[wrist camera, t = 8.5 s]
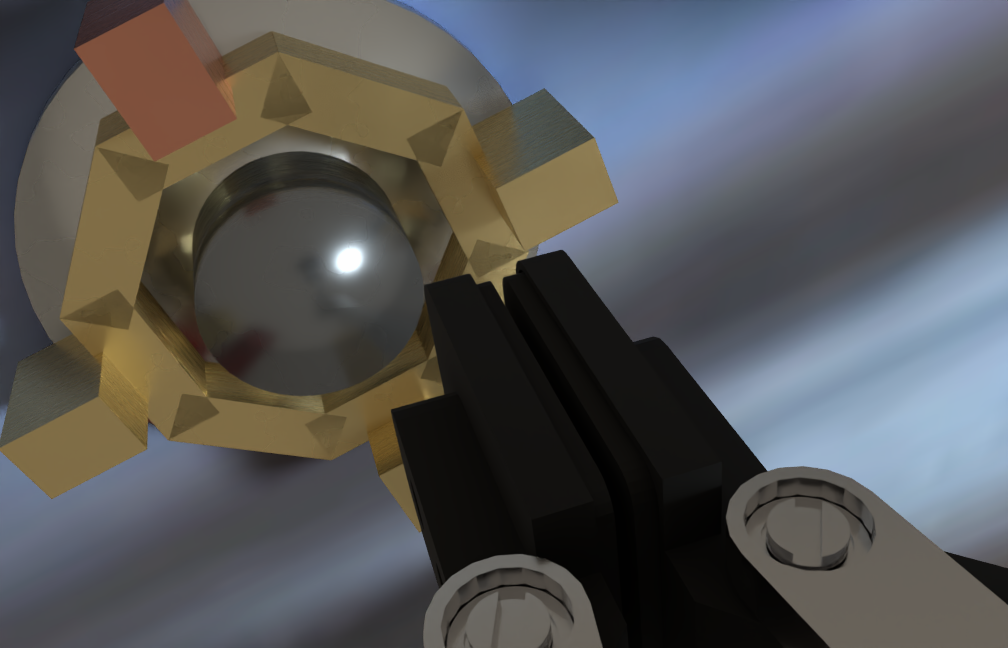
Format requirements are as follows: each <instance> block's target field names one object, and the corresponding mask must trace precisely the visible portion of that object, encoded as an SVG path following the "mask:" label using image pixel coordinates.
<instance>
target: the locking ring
mask: <svg viewBox="0 0 1008 648" xmlns="http://www.w3.org/2000/svg"><path fill="white" fill-rule="evenodd" d="M74 50H75V51H76V53H77V54H78V56H79V57H80V58H81V60H82V61H83V63H84V64H85V65H86V67H87V68H88V70H89V71H90V72H91V74H92V75H93V77H94V78H95V79H96V81H97V82H98V84H99V85H100V86H101V88H102V89H103V91H104V92H105V93H106V95H107V96H108V98H109V99H110V100H111V102H112V103H113V105H114V106H115V107H116V109H117V111H115V112H113V113H111V114H109V115H107V116H105V117H103V118H101V119H100V122H99V127H98V132H97V136H96V141H95V146H94V151H93V156H92V160H91V165H90V170H89V175H88V180H87V184H86V189H85V194H84V199H83V204H82V208H81V213H80V218H79V223H78V228H77V232H76V237H75V242H74V247H73V252H72V256H71V261H70V266H69V271H68V276H67V280H66V286H65V291H64V297H63V302H62V308H61V313H60V320H61V321H62V322H63V323H64V325H65V326H66V327H67V328H68V329H69V330H70V331H71V332H72V333H73V334H71V335H69V336H67V337H66V338H64V339H62V340H60V341H58V342H56V343H54V344H52V345H50V346H48V347H46V348H44V349H42V350H41V351H39V352H37V353H35V354H33V355H31V356H29V357H27V358H25V359H23V360H21V361H19V362H18V365H17V370H16V374H15V378H14V383H13V387H12V391H11V395H10V400H9V404H8V408H7V413H6V417H5V421H4V425H3V430H2V434H1V438H0V451H1V452H2V453H3V454H4V455H5V456H6V457H7V458H8V459H9V460H10V461H11V462H12V463H14V464H15V465H16V466H17V467H18V468H19V469H20V470H21V471H22V472H23V473H24V474H25V475H26V476H27V477H29V478H30V479H31V480H32V481H33V482H34V483H35V484H36V485H37V486H38V487H39V488H40V489H41V490H42V491H44V492H45V493H46V494H47V495H48V496H49V497H50V498H51V499H53V498H55V497H57V496H59V495H60V494H62V493H64V492H66V491H68V490H70V489H72V488H74V487H76V486H78V485H80V484H81V483H83V482H85V481H87V480H89V479H91V478H93V477H95V476H97V475H99V474H101V473H102V472H104V471H106V470H108V469H110V468H112V467H114V466H116V465H118V464H120V463H122V462H124V461H125V460H127V459H129V458H131V457H133V456H135V455H137V454H139V453H141V452H143V451H145V450H146V449H147V433H148V418H149V419H150V421H151V422H152V423H153V424H154V425H155V426H156V427H157V428H158V429H159V431H160V432H161V433H162V434H163V435H164V436H165V437H166V438H167V440H169V441H177V442H185V443H194V444H202V445H210V446H218V447H227V448H235V449H243V450H251V451H260V452H268V453H276V454H284V455H293V456H301V457H309V458H317V459H326V460H332V459H334V458H336V457H338V456H340V455H342V454H344V453H346V452H348V451H350V450H351V449H353V448H355V447H357V446H359V445H361V444H363V443H365V442H367V441H369V442H370V445H371V449H372V452H373V456H374V460H375V463H376V467H377V470H378V474H379V477H380V478H381V480H382V481H383V482H384V484H385V485H386V487H387V488H388V489H389V491H390V492H391V494H392V495H393V496H394V498H395V499H396V501H397V502H398V503H399V505H400V506H401V508H402V509H403V510H404V512H405V513H406V515H407V516H408V517H409V519H410V520H411V522H412V523H413V524H414V526H415V527H416V529H417V530H418V531H419V532H421V531H422V530H421V527H420V524H419V520H418V517H417V513H416V510H415V506H414V503H413V499H412V495H411V492H410V488H409V484H408V481H407V477H406V473H405V469H404V465H403V461H402V457H401V453H400V449H399V445H398V441H397V437H396V432H395V428H394V424H393V420H392V415H391V409H394V408H398V407H401V406H405V405H408V404H412V403H416V402H419V401H423V400H426V399H430V398H434V397H437V396H441V395H444V390H443V385H442V380H441V375H440V370H439V365H438V360H437V355H436V350H435V345H434V340H433V335H432V330H431V325H430V320H429V315H428V310H427V305H426V301H425V303H424V306H423V308H422V311H421V315H420V318H419V321H418V324H417V326H416V328H415V330H414V332H413V334H412V336H411V338H410V340H409V341H408V343H407V344H406V346H405V347H404V348H403V350H402V351H401V352H400V353H399V354H398V355H397V356H396V358H395V359H394V360H392V361H391V362H390V363H389V364H388V365H387V366H386V367H385V368H383V369H382V370H380V371H379V372H378V373H376V374H375V375H373V376H372V377H370V378H368V379H366V380H365V381H363V382H361V383H358V384H356V385H354V386H351V387H349V388H346V389H343V390H340V391H336V392H332V393H327V394H322V395H312V396H292V395H283V394H277V393H273V392H268V391H265V390H262V389H259V388H256V387H253V386H251V385H249V384H247V383H245V382H243V381H241V380H240V379H238V378H237V377H235V376H234V375H232V374H231V373H229V372H228V371H227V370H226V369H225V368H224V367H223V366H221V365H220V364H219V363H214V362H208V361H204V359H203V358H202V357H201V356H200V354H199V353H198V352H197V351H196V349H195V348H194V347H193V346H192V344H191V343H190V342H189V341H188V339H187V338H186V337H185V336H184V334H183V333H182V332H181V331H180V329H179V328H178V327H177V326H176V324H175V323H174V322H173V321H172V319H171V318H170V317H169V316H168V314H167V313H166V312H165V311H164V309H163V308H162V307H161V305H160V304H159V303H158V302H157V300H156V299H155V298H154V297H153V295H152V294H151V293H150V292H149V290H148V289H147V288H146V287H145V285H144V284H143V283H142V282H141V276H142V272H143V268H144V264H145V260H146V256H147V252H148V248H149V244H150V240H151V236H152V232H153V228H154V223H155V219H156V215H157V211H158V207H159V203H160V199H161V195H162V191H163V189H165V188H167V187H169V186H171V185H173V184H175V183H177V182H178V181H180V180H182V179H184V178H186V177H188V176H190V175H192V174H194V173H196V172H198V171H200V170H202V169H204V168H205V167H207V166H209V165H211V164H213V163H215V162H217V161H219V160H221V159H223V158H225V157H227V156H229V155H231V154H232V153H234V152H236V151H238V150H240V149H242V148H244V147H246V146H248V145H250V144H252V143H254V142H256V141H258V140H259V139H261V138H263V137H265V136H267V135H269V134H271V133H273V132H275V131H277V130H279V129H281V128H283V127H285V126H286V125H290V126H294V127H297V128H301V129H304V130H308V131H312V132H315V133H319V134H323V135H326V136H330V137H334V138H337V139H341V140H344V141H348V142H352V143H355V144H359V145H363V146H366V147H370V148H374V149H377V150H381V151H385V152H388V153H392V154H395V155H399V156H403V157H406V158H410V159H414V160H416V161H417V163H418V165H419V167H420V169H421V171H422V173H423V175H424V177H425V178H426V180H427V182H428V184H429V186H430V188H431V190H432V192H433V194H434V196H435V198H436V200H437V202H438V204H439V206H440V208H441V210H442V212H443V214H444V216H445V217H446V219H447V221H448V223H449V225H450V227H451V229H452V231H453V232H452V235H451V237H450V240H449V242H448V245H447V247H446V250H445V252H444V255H443V257H442V260H441V263H440V265H439V268H438V270H437V273H436V275H435V278H434V280H433V282H437V281H441V280H445V279H449V278H453V277H457V276H461V275H465V274H471V276H472V277H473V279H474V281H475V282H476V284H479V283H483V282H487V281H491V282H492V283H493V285H494V287H495V289H496V290H497V292H498V294H499V296H500V297H501V299H502V301H503V303H504V304H505V301H504V294H503V286H502V280H503V277H506V276H510V275H514V274H516V263H517V261H519V260H523V259H526V258H527V255H528V253H529V249H531V248H533V247H534V246H536V245H538V244H540V243H542V242H544V241H546V240H548V239H550V238H552V237H554V236H555V235H557V234H559V233H561V232H563V231H565V230H567V229H569V228H571V227H573V226H575V225H577V224H578V223H580V222H582V221H584V220H586V219H588V218H590V217H592V216H594V215H596V214H598V213H599V212H601V211H603V210H605V209H607V208H609V207H611V206H613V205H615V204H617V203H618V200H617V197H616V194H615V192H614V189H613V186H612V184H611V181H610V178H609V176H608V173H607V170H606V167H605V165H604V162H603V159H602V157H601V154H600V151H599V149H598V146H597V143H596V140H595V138H594V137H593V136H592V135H591V134H590V133H589V132H588V131H587V130H586V129H585V128H584V127H583V126H582V125H581V124H580V123H579V122H578V121H577V120H576V119H575V118H574V117H573V116H572V115H571V114H570V113H569V112H568V111H567V110H566V109H565V108H564V107H563V106H562V105H561V104H560V103H559V102H558V101H557V100H556V99H555V98H554V97H553V96H552V95H551V94H550V93H549V92H548V91H547V90H546V89H545V88H544V89H542V90H540V91H538V92H536V93H534V94H533V95H531V96H529V97H527V98H525V99H523V100H521V101H519V102H517V103H515V104H513V105H511V106H509V107H508V108H506V109H504V110H502V111H500V112H498V113H496V114H494V115H492V116H490V117H488V118H486V119H485V120H483V121H481V122H479V123H477V124H475V125H473V126H471V124H470V122H469V119H468V117H467V115H466V113H465V111H464V109H463V107H462V106H461V105H460V103H459V102H458V101H457V99H456V98H455V97H454V95H453V94H452V93H451V91H450V90H449V89H448V87H447V86H445V85H442V84H438V83H435V82H432V81H429V80H426V79H423V78H419V77H416V76H413V75H410V74H407V73H404V72H400V71H397V70H394V69H391V68H388V67H385V66H381V65H378V64H375V63H372V62H369V61H366V60H362V59H359V58H356V57H353V56H350V55H347V54H343V53H340V52H337V51H334V50H331V49H328V48H324V47H321V46H318V45H315V44H312V43H309V42H305V41H302V40H299V39H296V38H293V37H290V36H286V35H283V34H280V33H277V32H274V31H272V32H271V31H270V32H268V33H266V34H264V35H262V36H260V37H258V38H256V39H254V40H252V41H250V42H249V43H247V44H245V45H243V46H241V47H239V48H237V49H235V50H233V51H231V52H229V53H227V54H225V55H223V56H221V54H220V52H219V51H218V49H217V47H216V46H215V44H214V42H213V41H212V39H211V38H210V36H209V34H208V33H207V31H206V29H205V28H204V26H203V25H202V23H201V21H200V20H199V18H198V16H197V15H196V13H195V11H194V10H193V8H192V7H191V5H190V3H189V2H188V0H91V1H89V2H87V5H86V9H85V12H84V16H83V19H82V23H81V26H80V29H79V33H78V36H77V40H76V43H75V47H74Z"/></svg>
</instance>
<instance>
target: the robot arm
mask: <svg viewBox="0 0 1008 648" xmlns="http://www.w3.org/2000/svg"><path fill="white" fill-rule="evenodd" d="M502 286H503V294H504V301H505V304H504V303H503V301H502V299H501V297H500V296H499V294H498V292H497V290H496V289H495V287H494V285H493V283H492V282H491V281H487V282H483V283H479V284H476V282H475V281H474V279H473V277H472V276H471V274H465V275H461V276H457V277H453V278H449V279H445V280H441V281H437V282H433V283H429V284H426V285H424V294H425V300H426V305H427V310H428V315H429V320H430V325H431V330H432V335H433V340H434V345H435V350H436V355H437V360H438V365H439V370H440V375H441V380H442V385H443V390H444V395H441V396H437V397H434V398H430V399H426V400H423V401H419V402H416V403H412V404H408V405H405V406H401V407H398V408H394V409H391V415H392V420H393V424H394V428H395V432H396V437H397V441H398V445H399V449H400V453H401V457H402V461H403V465H404V469H405V473H406V477H407V481H408V484H409V488H410V492H411V495H412V499H413V503H414V506H415V510H416V513H417V517H418V520H419V524H420V527H421V530H422V534H423V537H424V540H425V544H426V547H427V550H428V553H429V557H430V560H431V563H432V567H433V570H434V573H435V576H436V580H437V583H438V586H439V590H438V591H437V592H436V593H435V595H434V597H433V599H432V601H431V603H430V605H429V607H428V609H427V611H426V613H425V621H424V631H423V642H424V648H1008V568H1004V567H1001V566H997V565H993V564H989V563H986V562H982V561H978V560H974V559H971V558H967V557H963V556H959V555H956V554H952V553H948V552H945V551H943V550H941V549H940V548H939V547H938V546H937V545H935V544H934V543H933V542H932V541H931V540H929V539H928V538H927V537H926V536H925V535H923V534H922V533H921V532H920V531H919V530H917V529H916V528H915V527H914V526H913V525H911V524H910V523H909V522H908V521H907V520H905V519H904V518H903V517H902V516H901V515H899V514H898V513H897V512H896V511H895V510H893V509H892V508H891V507H890V506H889V505H887V504H886V503H885V502H884V501H883V500H881V499H880V498H879V497H878V496H877V495H875V494H874V493H873V492H872V491H870V490H869V489H867V488H866V487H864V486H863V485H861V484H859V483H858V482H856V481H855V480H853V479H852V478H849V477H846V476H843V475H841V474H838V473H835V472H832V471H830V470H825V469H818V468H811V467H804V466H801V467H785V468H777V469H774V470H771V471H767V470H766V469H765V468H764V466H763V465H762V464H761V463H760V461H759V460H758V459H757V458H756V456H755V455H754V454H753V453H752V451H751V450H750V449H749V447H748V446H747V445H746V444H745V442H744V441H743V440H742V439H741V437H740V436H739V435H738V434H737V432H736V431H735V430H734V429H733V427H732V426H731V425H730V424H729V422H728V421H727V420H726V419H725V417H724V416H723V415H722V414H721V412H720V411H719V410H718V409H717V407H716V406H715V405H714V404H713V402H712V401H711V400H710V399H709V397H708V396H707V395H706V394H705V392H704V391H703V390H702V389H701V387H700V386H699V385H698V384H697V382H696V381H695V380H694V379H693V377H692V376H691V375H690V374H689V372H688V371H687V370H686V369H685V367H684V366H683V365H682V364H681V362H680V361H679V360H678V359H677V357H676V356H675V355H674V354H673V352H672V351H671V350H670V349H669V347H668V346H667V345H666V344H665V343H664V342H663V341H662V340H661V339H660V338H657V337H650V338H646V339H643V340H639V341H636V342H632V340H631V339H630V338H629V336H628V335H627V334H626V332H625V331H624V330H623V328H622V327H621V326H620V324H619V323H618V322H617V320H616V319H615V318H614V316H613V315H612V314H611V312H610V311H609V310H608V308H607V307H606V306H605V304H604V303H603V302H602V300H601V299H600V298H599V296H598V295H597V294H596V292H595V291H594V290H593V288H592V287H591V286H590V284H589V283H588V282H587V280H586V279H585V278H584V276H583V275H582V273H581V272H580V271H579V269H578V268H577V267H576V265H575V264H574V263H573V261H572V260H571V259H570V257H569V256H568V255H567V253H565V252H564V251H563V250H558V251H555V252H551V253H547V254H543V255H539V256H535V257H531V258H527V259H523V260H519V261H517V263H516V274H514V275H510V276H506V277H503V280H502Z"/></svg>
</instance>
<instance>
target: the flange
mask: <svg viewBox="0 0 1008 648" xmlns="http://www.w3.org/2000/svg"><path fill="white" fill-rule="evenodd" d="M188 2H189V3H190V5H191V7H192V8H193V10H194V11H195V13H196V15H197V16H198V18H199V20H200V21H201V23H202V25H203V26H204V28H205V29H206V31H207V33H208V34H209V36H210V38H211V39H212V41H213V42H214V44H215V46H216V47H217V49H218V51H219V52H220V54H221V56H223V55H225V54H227V53H229V52H231V51H233V50H235V49H237V48H239V47H241V46H243V45H245V44H247V43H249V42H250V41H252V40H254V39H256V38H258V37H260V36H262V35H264V34H266V33H268V32H270V31H271V32H272V31H274V32H277V33H280V34H283V35H286V36H290V37H293V38H296V39H299V40H302V41H305V42H309V43H312V44H315V45H318V46H321V47H324V48H328V49H331V50H334V51H337V52H340V53H343V54H347V55H350V56H353V57H356V58H359V59H362V60H366V61H369V62H372V63H375V64H378V65H381V66H385V67H388V68H391V69H394V70H397V71H400V72H404V73H407V74H410V75H413V76H416V77H419V78H423V79H426V80H429V81H432V82H435V83H438V84H442V85H445V86H447V87H448V89H449V90H450V91H451V93H452V94H453V95H454V97H455V98H456V99H457V101H458V102H459V103H460V105H461V106H462V107H463V109H464V111H465V113H466V115H467V117H468V119H469V122H470V124H471V126H473V125H475V124H477V123H479V122H481V121H483V120H485V119H486V118H488V117H490V116H492V115H494V114H496V113H498V112H500V111H502V110H504V109H506V108H508V107H509V106H511V105H512V103H511V102H510V100H509V99H508V97H507V96H506V94H505V93H504V91H503V90H502V88H501V87H500V85H499V84H498V82H497V81H496V80H495V79H494V77H493V76H492V75H491V74H490V73H489V72H488V71H487V70H486V69H485V67H484V66H483V65H482V64H481V63H480V62H479V61H478V60H477V58H476V57H475V56H474V55H473V54H472V53H471V52H470V51H469V50H468V48H467V47H466V46H464V45H463V44H462V43H461V42H460V41H458V40H457V39H456V38H455V37H454V36H453V35H451V34H450V33H449V32H448V31H447V30H445V29H444V28H443V27H442V26H441V25H439V24H438V23H436V22H434V21H433V20H431V19H430V18H428V17H427V16H425V15H423V14H422V13H420V12H419V11H417V10H415V9H414V8H412V7H410V6H408V5H406V4H404V3H402V2H399V1H397V0H188ZM115 111H117V109H116V107H115V106H114V105H113V103H112V102H111V100H110V99H109V98H108V96H107V95H106V93H105V92H104V91H103V89H102V88H101V86H100V85H99V84H98V82H97V81H96V79H95V78H94V77H93V75H92V74H91V72H90V71H89V70H88V68H87V67H86V65H85V64H84V63H83V61H82V60H81V58H80V59H79V60H78V61H77V62H76V64H75V65H74V66H73V67H72V68H71V69H70V70H69V71H68V72H67V74H66V75H65V76H64V78H63V79H62V81H61V82H60V84H59V85H58V87H57V88H56V90H55V91H54V92H53V94H52V95H51V97H50V98H49V100H48V101H47V103H46V105H45V107H44V109H43V112H42V114H41V116H40V118H39V120H38V122H37V124H36V126H35V128H34V130H33V133H32V135H31V138H30V141H29V144H28V148H27V151H26V154H25V158H24V161H23V165H22V168H21V172H20V175H19V179H18V185H17V193H16V201H15V209H14V226H15V248H16V253H17V257H18V262H19V267H20V272H21V277H22V281H23V283H24V286H25V289H26V291H27V294H28V297H29V299H30V302H31V305H32V307H33V310H34V312H35V313H36V315H37V317H38V319H39V321H40V322H41V324H42V326H43V328H44V329H45V331H46V333H47V335H48V337H49V338H50V339H51V341H52V342H53V343H56V342H58V341H60V340H62V339H64V338H66V337H67V336H69V335H71V334H73V333H72V332H71V331H70V330H69V329H68V328H67V327H66V326H65V325H64V323H63V322H62V321H61V320H60V313H61V308H62V302H63V297H64V291H65V286H66V280H67V276H68V271H69V266H70V261H71V256H72V252H73V247H74V242H75V237H76V232H77V228H78V223H79V218H80V213H81V208H82V204H83V199H84V194H85V189H86V184H87V180H88V175H89V170H90V165H91V160H92V156H93V151H94V146H95V141H96V136H97V132H98V127H99V122H100V119H101V118H103V117H105V116H107V115H109V114H111V113H113V112H115ZM452 232H453V231H452V229H451V227H450V225H449V223H448V221H447V219H446V217H445V216H444V214H443V212H442V210H441V208H440V206H439V204H438V202H437V200H436V198H435V196H434V194H433V192H432V190H431V188H430V186H429V184H428V182H427V180H426V178H425V177H424V175H423V173H422V171H421V169H420V167H419V165H418V163H417V161H416V160H414V159H410V158H406V157H403V156H399V155H395V154H392V153H388V152H385V151H381V150H377V149H374V148H370V147H366V146H363V145H359V144H355V143H352V142H348V141H344V140H341V139H337V138H334V137H330V136H326V135H323V134H319V133H315V132H312V131H308V130H304V129H301V128H297V127H294V126H290V125H286V126H285V127H283V128H281V129H279V130H277V131H275V132H273V133H271V134H269V135H267V136H265V137H263V138H261V139H259V140H258V141H256V142H254V143H252V144H250V145H248V146H246V147H244V148H242V149H240V150H238V151H236V152H234V153H232V154H231V155H229V156H227V157H225V158H223V159H221V160H219V161H217V162H215V163H213V164H211V165H209V166H207V167H205V168H204V169H202V170H200V171H198V172H196V173H194V174H192V175H190V176H188V177H186V178H184V179H182V180H180V181H178V182H177V183H175V184H173V185H171V186H169V187H167V188H165V189H163V191H162V195H161V199H160V203H159V207H158V211H157V215H156V219H155V223H154V228H153V232H152V236H151V240H150V244H149V248H148V252H147V256H146V260H145V264H144V268H143V272H142V276H141V282H142V283H143V284H144V285H145V287H146V288H147V289H148V290H149V292H150V293H151V294H152V295H153V297H154V298H155V299H156V300H157V302H158V303H159V304H160V305H161V307H162V308H163V309H164V311H165V312H166V313H167V314H168V316H169V317H170V318H171V319H172V321H173V322H174V323H175V324H176V326H177V327H178V328H179V329H180V331H181V332H182V333H183V334H184V336H185V337H186V338H187V339H188V341H189V342H190V343H191V344H192V346H193V347H194V348H195V349H196V351H197V352H198V353H199V354H200V356H201V357H202V358H203V359H204V361H208V362H214V363H219V364H220V365H221V366H223V367H224V368H225V369H226V370H227V371H228V372H229V373H231V374H232V375H234V376H235V377H237V378H238V379H240V380H241V381H243V382H245V383H247V384H249V385H251V386H253V387H256V388H259V389H262V390H265V391H268V392H273V393H277V394H283V395H292V396H312V395H322V394H327V393H332V392H336V391H340V390H343V389H346V388H349V387H351V386H354V385H356V384H358V383H361V382H363V381H365V380H366V379H368V378H370V377H372V376H373V375H375V374H376V373H378V372H379V371H380V370H382V369H383V368H385V367H386V366H387V365H388V364H389V363H390V362H391V361H392V360H394V359H395V358H396V356H397V355H398V354H399V353H400V352H401V351H402V350H403V348H404V347H405V346H406V344H407V343H408V341H409V340H410V338H411V336H412V334H413V332H414V330H415V328H416V326H417V324H418V321H419V318H420V315H421V311H422V308H423V306H424V303H425V301H426V300H425V294H424V285H426V284H429V283H433V280H434V278H435V275H436V273H437V270H438V268H439V265H440V263H441V260H442V257H443V255H444V252H445V250H446V247H447V245H448V242H449V240H450V237H451V235H452ZM537 250H538V245H536V246H534V247H533V248H531V249H529V253H528V255H527V258H531V257H535V256H536V254H537ZM527 258H526V259H527ZM148 422H150V423H152V422H151V421H150V419H149V418H148ZM152 424H153V423H152Z"/></svg>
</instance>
